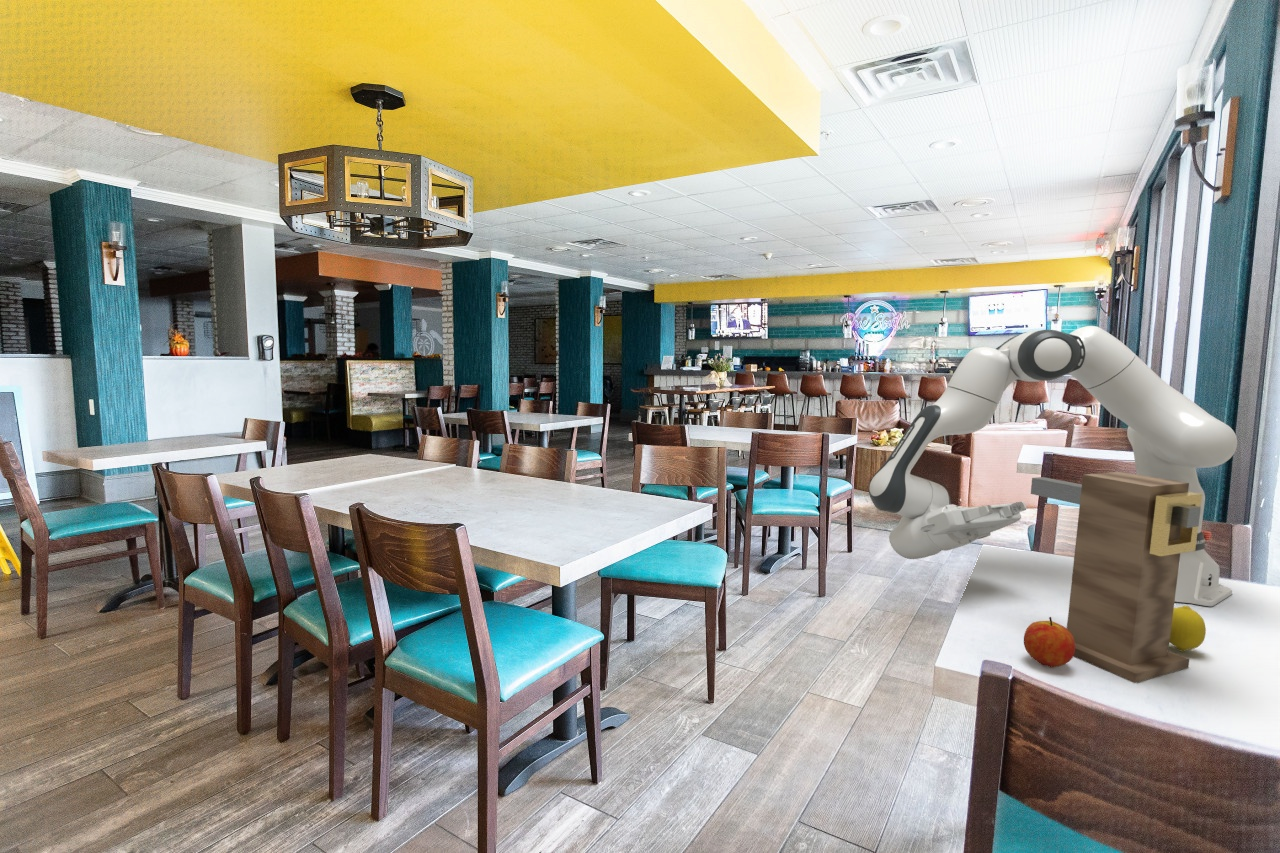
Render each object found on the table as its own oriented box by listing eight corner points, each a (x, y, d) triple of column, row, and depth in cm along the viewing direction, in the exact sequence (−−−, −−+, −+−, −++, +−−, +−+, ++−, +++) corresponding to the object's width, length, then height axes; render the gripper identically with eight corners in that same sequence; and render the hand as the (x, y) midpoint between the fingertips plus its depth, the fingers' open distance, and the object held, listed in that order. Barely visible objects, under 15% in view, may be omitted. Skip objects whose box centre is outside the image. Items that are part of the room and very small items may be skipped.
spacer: (1183, 547, 100) (1190, 492, 99) (1195, 550, 99) (1202, 494, 98) (1149, 553, 97) (1156, 495, 96) (1160, 556, 96) (1167, 497, 95)
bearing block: (1097, 632, 115) (1115, 469, 112) (1188, 667, 102) (1211, 484, 99) (1045, 644, 110) (1062, 473, 106) (1135, 683, 97) (1158, 490, 93)
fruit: (1043, 651, 107) (1047, 606, 106) (1083, 671, 100) (1088, 623, 99) (1011, 657, 104) (1016, 610, 104) (1050, 677, 98) (1055, 628, 97)
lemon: (1210, 660, 105) (1216, 614, 104) (1172, 656, 106) (1178, 610, 105) (1189, 645, 110) (1194, 601, 110) (1153, 642, 112) (1158, 598, 111)
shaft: (1041, 492, 118) (1043, 477, 118) (1198, 526, 96) (1200, 506, 96) (1030, 493, 117) (1032, 477, 117) (1186, 528, 95) (1189, 508, 95)
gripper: (910, 516, 132) (962, 495, 121) (980, 508, 140) (1034, 488, 129) (920, 545, 130) (974, 527, 118) (990, 536, 138) (1047, 518, 126)
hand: (1006, 507), depth 124 cm, fingers open, 8 cm apart
